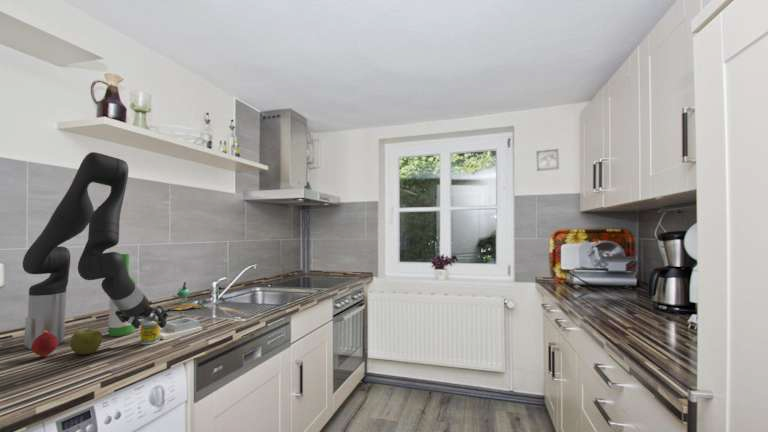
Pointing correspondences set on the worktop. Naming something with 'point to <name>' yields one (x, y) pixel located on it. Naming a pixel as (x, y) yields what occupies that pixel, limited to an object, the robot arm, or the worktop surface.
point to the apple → (86, 341)
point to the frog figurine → (184, 294)
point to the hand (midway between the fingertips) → (151, 325)
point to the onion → (44, 344)
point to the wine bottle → (114, 322)
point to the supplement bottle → (149, 331)
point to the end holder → (179, 328)
